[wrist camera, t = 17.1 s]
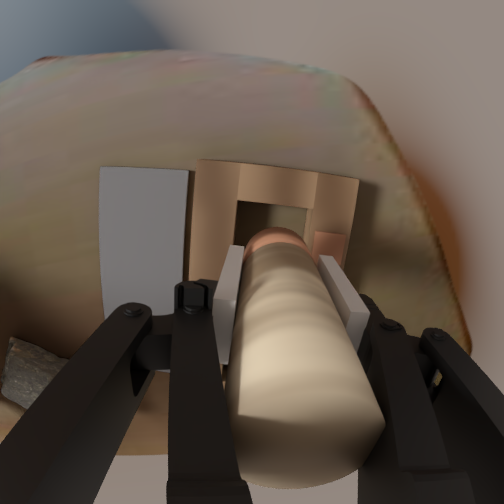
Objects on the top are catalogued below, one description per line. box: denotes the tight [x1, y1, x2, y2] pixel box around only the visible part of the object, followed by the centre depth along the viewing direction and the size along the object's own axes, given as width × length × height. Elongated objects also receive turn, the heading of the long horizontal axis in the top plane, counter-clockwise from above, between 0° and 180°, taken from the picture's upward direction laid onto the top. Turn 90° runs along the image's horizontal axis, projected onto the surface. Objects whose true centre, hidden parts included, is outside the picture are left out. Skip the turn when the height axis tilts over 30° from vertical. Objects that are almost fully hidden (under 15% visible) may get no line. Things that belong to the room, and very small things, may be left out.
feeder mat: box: [99, 166, 189, 373], centre depth 27 cm, size 8×20×1 cm, turn 174°
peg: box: [224, 227, 386, 489], centre depth 13 cm, size 4×4×14 cm
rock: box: [1, 337, 69, 409], centre depth 29 cm, size 17×7×10 cm
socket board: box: [189, 159, 359, 388], centre depth 26 cm, size 12×22×3 cm, turn 174°
